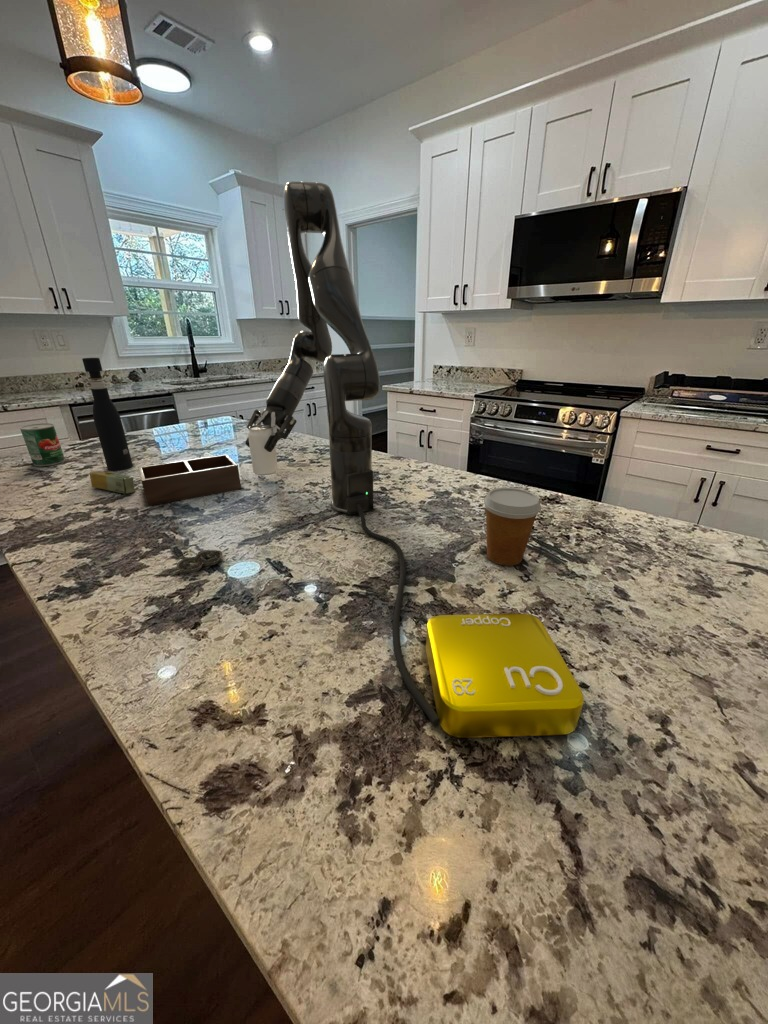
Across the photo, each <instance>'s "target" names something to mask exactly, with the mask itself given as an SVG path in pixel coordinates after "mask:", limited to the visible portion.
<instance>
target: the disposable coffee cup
mask: <svg viewBox="0 0 768 1024" xmlns="http://www.w3.org/2000/svg"><path fill="white" fill-rule="evenodd" d="M483 505H484V507H485V524H486V527H485V529H486V531H485V532H486V533H485V534H486V557H487V559H488V560H490V561H491V562H493V563H495V564H497V565H501V566H509V567H510V566H517V565H519V564H521V562H522V561H523V557H524V554H525V551H526V549H527V545H528V542H529V539H530V536H531V533H532V531H533V530H532V529H533V527H534V524H535V521H536V517H537V515H539V512H541V509H542V505H541V504H540V498H539V496H538V495H536V494H535V493H533V492H531V491H529V490H526V489H521V488H517V487H496V488H494V489H493V488H492V489H491V490H489V491H488V492H487V495H486V496H485V497H484V499H483Z"/></svg>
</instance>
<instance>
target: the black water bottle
mask: <svg viewBox="0 0 768 1024" xmlns="http://www.w3.org/2000/svg"><path fill="white" fill-rule="evenodd" d="M81 361H82V364H83V366H84V370H85V372H86V373H88V374H89V379H90V380H91V381H90V384H89V385H90V387H91V389H90V391H91V396H92V398H93V404H92V417H93V418H92V419H93V423H94V426H95V430H96V433H97V437H98V439H99V443H100V446H101V450H102V454H103V457H104V460H105V465H106V468H107V470H108V471H123V470H127V469H130V468H132V467H133V466H134V465H133V461H132V457H131V453H130V449H129V445H128V442H127V436H126V434H125V430H124V425H123V422H122V418H121V415H120V413H119V411H118V409H117V407H116V405H115V404H114V402H113V401H112V399H111V398H110V394H109V389H108V388H107V387H106V382H105V381H104V380H102V379H103V377H102V374H101V372H103V371H104V369H103V367H102V362H101V359H100V357H83V358H81Z"/></svg>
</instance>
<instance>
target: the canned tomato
mask: <svg viewBox="0 0 768 1024" xmlns="http://www.w3.org/2000/svg"><path fill="white" fill-rule="evenodd" d="M19 430H20V432H21V435H22V438H23V440H24V443H25V446H26V449H27V451H28V454H29V457H30V459H31V462H32V465H33V466H34V467H49V466H55V465H59V464H62V463H64V462H66V458H65V455H64V451H63V448H62V446H61V442H60V440H59V436H58V433H57V431H56V427H55V424H54V423H50V422H49V423H48V422H47V423H46V422H45V423H44V422H43V423H42V422H41V423H33V424H27V425H23V426H20V427H19Z"/></svg>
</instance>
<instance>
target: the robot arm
mask: <svg viewBox="0 0 768 1024" xmlns="http://www.w3.org/2000/svg"><path fill="white" fill-rule="evenodd" d="M282 200H283V212H284V213H283V214H284V221H285V227H286V233H287V240H288V246H289V247H288V248H289V253H290V258H291V264H292V269H293V274H294V276H293V277H294V281H295V282H294V283H295V290H296V304H297V317H298V321H299V323H300V324H301V325H303V326H304V327H305V328H306V329H308V330H305V329H304V330H300V331H298V332H297V333H296V334H295V336H294V338H293V341H292V346H291V351H290V354H289V355H290V356H289V359H288V363H287V365H286V366H285V368H284V369H283V372H282V373H281V374H280V377H278V379H277V380H276V382H275V384H274V386H273V388H272V389H271V391H270V393H269V395H268V396H267V399H266V401H265V404H266V407H265V408H264V410H262V411H260V410H259V409H254V411H253V413H252V415H251V417H250V419H249V421H248V423H247V425H246V429H248V430H249V427H251V426H254V425H269V426H271V428H272V436H271V435H270V437H269V439H268V441H267V442H266V444H265V446H264V449H266V450H267V451H268V452H271V451H272V450H273V449H274V447H275V446H277V444H278V441H281V439H283V440H286V439H288V437H289V435H290V434H291V432H292V431H293V429H294V427H295V426H296V424H297V420H296V418H295V417H294V416H293V415H294V413H295V411H296V409H297V408H298V406H299V404H300V402H301V400H302V398H303V396H304V394H305V391H306V388H307V387H308V385H309V382H310V381H311V379H312V377H313V375H314V368H313V366H312V365H311V364H310V363H309V362H308V361H306V360H305V359H308V360H311V361H314V362H317V363H323V383H324V384H323V385H324V392H325V394H324V395H325V403H326V416H327V425H328V442H329V445H328V446H329V460H330V462H329V465H330V483H331V496H332V497H331V499H332V500H331V507H332V508H333V509H334V510H335V511H336V512H339V513H344V514H348V515H350V516H352V515H355V514H358V515H359V518H360V526H361V529H362V530H363V532H364V533H365V534H366V535H368V536H369V537H371V538H373V539H375V540H378V541H382V542H385V543H387V544H389V545H390V546H391V547H393V549H394V551H395V552H396V553H397V558H398V564H399V579H398V585H397V592H396V597H395V598H396V599H395V604H394V608H393V615H392V647H393V648H392V649H393V653H394V658H395V661H396V665H397V668H398V670H399V674H400V676H401V678H402V680H403V682H404V684H405V687H406V688H407V689H408V691H409V693H410V694H411V696H412V697H413V698H414V700H415V701H416V703H417V704H418V705H419V707H420V708H421V709H422V711H423V712H424V714H425V715H426V717H427V718H428V720H429V721H430V723H431V724H432V726H438V725H440V724H439V717H438V715H437V711H436V710H435V709H434V708H433V706H432V705H431V704H430V702H429V700H427V698H426V697H425V696H424V694H423V693H422V692H421V690H420V689H419V688H418V686H417V685H416V683H415V681H414V680H413V678H412V676H411V674H410V672H409V669H408V668H407V665H406V663H405V660H404V656H403V652H402V646H401V634H400V633H401V632H400V631H401V630H400V622H401V621H400V619H401V612H402V606H403V600H404V593H405V592H404V591H405V584H406V577H407V570H406V562H405V557H404V553H403V550H402V548H401V547H400V545H399V544H398V543H397V542H396V541H395V540H393V539H392V538H390V537H387V536H384V535H381V534H378V533H375V532H373V531H372V530H370V528H368V525H367V522H366V516H365V514H364V512H368V511H372V510H374V470H373V463H372V461H373V460H372V458H373V456H372V449H373V448H372V444H373V443H372V442H373V441H372V433H373V432H372V431H373V430H372V421H371V419H370V418H368V417H366V416H363V415H361V414H357V413H353V412H351V411H349V410H348V409H347V407H346V406H347V405H346V402H356V401H369V400H371V399H372V400H373V399H374V398H376V397H377V396H378V394H379V392H380V386H381V379H380V372H379V367H378V363H377V360H376V357H375V354H374V351H373V349H372V345H371V343H370V340H369V337H368V335H367V331H366V329H365V326H364V322H363V318H362V314H361V311H360V307H359V303H358V297H357V294H356V288H355V285H354V281H353V277H352V273H351V270H350V267H349V263H348V260H347V257H346V256H347V255H346V252H345V248H344V244H343V239H342V235H341V228H340V223H339V217H338V211H337V207H336V200H335V196H334V193H333V191H332V189H331V187H330V186H329V185H328V184H326V183H323V182H316V181H293V180H292V181H288V182H286V184H285V185H284V188H283V198H282ZM302 234H322V235H323V241H322V243H321V246H320V248H319V250H318V252H317V254H316V256H315V257H314V258H313V262H312V263H311V261H310V259H309V258H308V255H307V253H306V250H305V248H304V244H303V237H302ZM328 326H329V327H330V328H331V330H333V331H334V332H335V333H336V334H337V335H338V336H339V337H340V338H341V340H342V341H343V342H344V344H345V346H346V348H347V350H348V351H349V353H333V354H332V352H333V342H332V337H331V333H330V330H329V327H328ZM245 446H247V447H248V448H250V446H249V438H248V437H247V438H246V440H245Z"/></svg>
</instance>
